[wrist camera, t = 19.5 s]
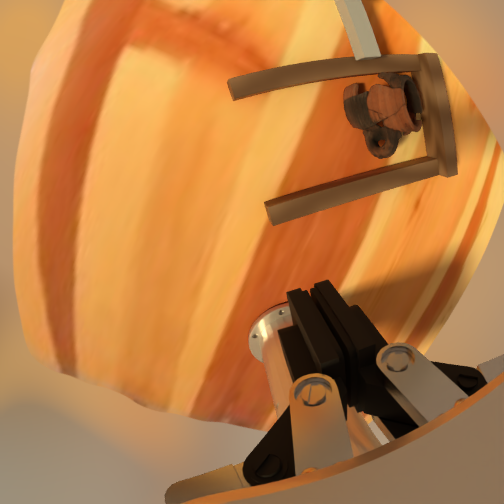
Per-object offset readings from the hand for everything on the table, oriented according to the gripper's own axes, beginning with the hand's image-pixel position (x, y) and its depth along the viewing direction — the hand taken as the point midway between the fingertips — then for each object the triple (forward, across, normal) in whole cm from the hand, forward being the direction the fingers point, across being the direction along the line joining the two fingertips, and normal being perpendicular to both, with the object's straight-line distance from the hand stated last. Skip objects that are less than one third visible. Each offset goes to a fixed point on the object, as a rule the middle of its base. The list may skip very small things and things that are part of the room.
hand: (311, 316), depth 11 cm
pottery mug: (+26, -19, -6) cm, 33 cm away
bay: (+26, -15, -5) cm, 31 cm away
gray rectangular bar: (+23, -18, -19) cm, 34 cm away
